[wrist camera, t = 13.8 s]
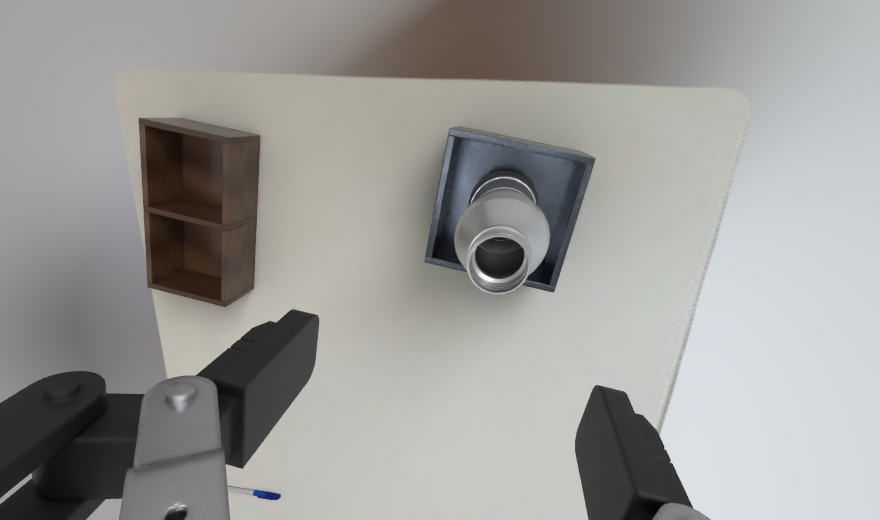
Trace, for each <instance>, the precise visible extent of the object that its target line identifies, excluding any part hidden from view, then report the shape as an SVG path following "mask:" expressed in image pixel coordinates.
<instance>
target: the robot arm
mask: <svg viewBox="0 0 880 520" xmlns="http://www.w3.org/2000/svg"><path fill="white" fill-rule="evenodd" d="M318 329H319V317H318V315H315V314H310V313H306V312H302V311H298V310H294V309H292V310H290V311H289V312H288V313H287V314H286V315H285V316H283V317H282V318H281V319H280V320H279V321H278V322H277V323H275V322H271V321H269V322H266V323H264V324H261V325H259V326H256V327H254V328H252V329H251V330H250V331H249V332H247V333H246V334H245V335H244V336H243V337H241V340H238V341H237V342H235V343H234V344H233V345H232V346H231V348H228V349H227V350H226V351H225V352H223V353H222V354H221V355H220V356H219V357H217V358H216V359H215V360H214V361H213V362H211V363H210V364H209V365H208V366H207V367H205V368H204V369H203V370H202V371H201V372H199V373H198V374H197V375H196V376H179V377H174V378H171V379H167V380H165V381H162V382H160V383H158V384H156V385H155V386H153V387H152V388H151V389H149V390H148V392H147V393H146V394H107V393H106V384H105V380H104V379H103V378H102V377H101V376H100V375H98V374H96V373H92V372H86V371H74V372H65V373H60V374H56V375H52V376H49V377H46V378H43V379H41V380H39V381H37V382H34V383H33V384H31V385H29V386H28V387H26V388H24V389H23V390H21V391H19V392H18V393H16V394H14V395H13V396H12V397H9V398H8V399H6V400H5V401H3V402H1V403H0V498H1V497H2V496H3V495H4V494H6V493H7V492H8V491H9V490H11V488H13V487H14V486H15V485H17V484H18V483H19V482H20V481H22V480H23V479H24V478H25V477H27V476H28V475H29V474H30V473H32V479H31V480H29V481H28V482H27V483H26V484H25V485H23V486H22V487H21V488H20V489H18V490H17V491H16V492H15V493H14V494H12V495H11V496H10V497H9V498H7V499H6V500H5V501H4V502H3V503H1V504H0V520H86V519H87V518H88V517H89V516H90V515H91V514H92V513H93V512H94V511H95V509H97V508H98V506H99V505H100V504H101V503H102V502H103V501H104V500H105V499H119V498H122V504H121V511H120V517H119V520H230V513H229V501H228V490H227V478H226V466H225V465H226V464H228V465H231V466H235V467H238V468H242V469H243V467H244V466H245V465H246V463H247V462H248V461H249V459H250V458H251V457H252V455H253V454H254V453H255V451H256V450H257V449H258V447H259V446H260V445H261V443H262V442H263V441H264V439H265V438H266V437H267V435H268V434H269V433H270V431H271V430H272V429H273V427H274V426H275V425H276V423H277V422H278V421H279V419H280V418H281V417H282V415H283V414H284V413H285V411H286V410H287V409H288V407H289V406H290V405H291V403H292V402H293V401H294V399H295V398H296V397H297V395H298V394H299V393H300V391H301V390H302V389H303V387H304V386H305V385H306V383H307V382H308V380H309V379H310V377H311V374H312V372H313V369H314V365H315V360H316V350H317V340H318ZM575 452H576V458H577V463H578V468H579V473H580V478H581V483H582V488H583V493H584V498H585V503H586V509H587V514H588V519H589V520H710V519H709V518H708V517H706V516H705V515H703V514H702V513H700V512H699V511H697V510H695V509H693V507H692V505H691V502H690V501H689V498H688V496H687V494H686V492H685V490H684V487H683V485H682V483H681V481H680V479H679V477H678V475H677V473H676V470H675V468H674V466H673V464H672V463H670V461H671V460H670V458H669V456H668V454H667V451H666V450H664V445H663V443H662V440H661V438H660V436H659V434H658V432H657V430H656V429H655V428H654V427H653V426H652V425H651V424H650V423H649V422H648V421H647V419H646V418H645V417H644V416H643V415H639V414H635V412H634V410H633V408H632V405H631V403H630V401H629V398H628V396H627V394H626V393H625V392H623V391H619V390H615V389H611V388H607V387H603V386H599V385H596V386H595V387H594V388H593V390H592V392H591V395H590V398H589V400H588V403H587V406H586V408H585V411H584V414H583V416H582V419H581V421H580V424H579V427H578V430H577V434H576V440H575Z"/></svg>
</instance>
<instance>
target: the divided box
mask: <svg viewBox="0 0 880 520" xmlns="http://www.w3.org/2000/svg"><path fill="white" fill-rule="evenodd" d="M139 131H140V150H141V169H142V188H143V205H144V225H145V244H146V264H147V282H148V287H149V288H153V289H157V290H161V291H165V292H168V293H172V294H176V295H180V296H184V297H188V298H192V299H196V300H200V301H204V302H208V303H211V304H215V305H219V306H223V307H227V306H228V305H230V304H231V303H233V302H234V301H236V300H237V299H239V298H240V297H242V296H243V295H245V294H246V293H248V292H249V291H251V290H252V289H254V269H255V245H256V221H257V197H258V174H259V150H260V135H256V134H251V133H247V132H242V131H238V130H233V129H228V128H224V127H219V126H215V125H210V124H205V123H201V122H196V121H192V120H187V119H182V118H139Z"/></svg>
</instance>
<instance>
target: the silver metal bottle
mask: <svg viewBox="0 0 880 520" xmlns="http://www.w3.org/2000/svg"><path fill="white" fill-rule="evenodd" d="M549 240H550V231H549V225H548V222H547V219H546V217H545V215H544V213H543V212H542V210H541V209H540V208H539V207H538V195H537V192H536V189H535V188H534V186H533V184H532V183H531V182H530V181H529V180H528V179H527V178H526V177H525V176H523V175H521V174H519V173H517V172H513V171H497V172H494V173H491V174H489V175H487V176H485V177H484V178H482V179H481V180H480V181H479V182H478V183H477V184H476V186H475V187H474V189H473V190H472V193H471V195H470V198H469V203H468V207H467V209H466V210H465V211H464V212H463V214H462V215H461V217H460V219H459V221H458V223H457V226H456V230H455V235H454V244H455V250H456V253H457V256H458V259H459V260H460V262H461V263H462V265H463V267H464V268H465V269H466V270H467V272H468V275H469V277H470V279H471V281H472V283H473V284H474V285H475V286H476V287H477V288H479V289H480V290H481V291H483V292H486V293H489V294H493V295H502V294H507V293H510V292H513V291H514V290H516V289H518V288H519V287H520V286H521V285H522V284H523V283H524V282H525V281H526V279H527V277H528V275H530V274H531V273H532V272H533V271H534V270H535V269H536V268H537V267H538V266H539V265H540V263H541V262H542V260H543V259H544V257H545V255H546V253H547V250H548V247H549Z"/></svg>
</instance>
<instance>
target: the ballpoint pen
mask: <svg viewBox="0 0 880 520" xmlns="http://www.w3.org/2000/svg"><path fill="white" fill-rule="evenodd" d="M227 490H228V491H231V492H237V493H243V494H249V495H254V496H258V498H263V499H269V500H278V499H279V498H280V497H281V495H280V494H276V493H271V492H265V491H259V490H258V491H257V490H250V489H243V488H237V487H231V486H227Z"/></svg>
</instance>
